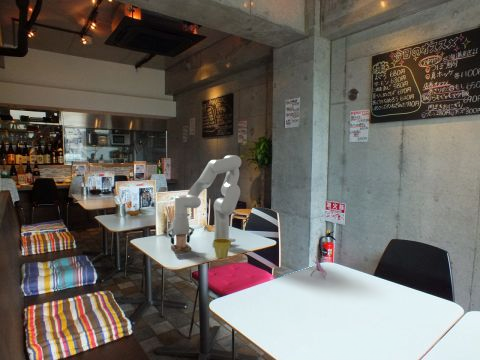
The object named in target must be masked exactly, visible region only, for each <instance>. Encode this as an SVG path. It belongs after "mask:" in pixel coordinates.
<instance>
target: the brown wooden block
mask: <svg viewBox="0 0 480 360" xmlns="http://www.w3.org/2000/svg"><path fill="white" fill-rule="evenodd" d="M175 242H176V243H175V245H176V249H181V248H186V244H187V234H181V235H175Z"/></svg>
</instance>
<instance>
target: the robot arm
mask: <svg viewBox="0 0 480 360" xmlns="http://www.w3.org/2000/svg"><path fill="white" fill-rule="evenodd" d="M241 165H242V159H241V157H240V156H238V155H235V154H234V155H232V154H228V155H225V156H224V157H223V158H222V159H211V160H210V161H208V163H207V165H206V166H205V168H204V169H203V171H202V173H201V174H200V176H199V178H198V179H197V180H196V181H195V182H194V183H193V184H192V186H191V187H190V189H189V190H188V191H187V194H186V195H177V196H175V198H174V217H173V218H172V223H171V227H170V228H169V229H167V230H166V234H167V235H168V237H170V244H171V245H175V238H174V237H176V235H181V234H186V244H190V241H191V236H192V235H193V234H194V232H195V228H193V227H191V226H190V222H189V216H190V213H188V208H189V209H197V208H200V206H201V204H202V201H201V199H200V197H199V196H200V195H201V193H202V192H203V191H205V190H206V189H208V188H209V187H211V185H212V184H213V183H214V180H215V179H216V177H217V175H218V174H225V178H224V180H223V183H222V186H221V188H220V192H221V195H222V196H224V197H218V198H216V199H215V200H214V202H213V211H214V213H213V214H214V230H213V231H214V233H213V234H214V237H213V238H214V239H213V240H215V239H218V238H225V239H229V240H231V243H236V241H237V240H236V238H230V215H231V214H232V213H234V211H235V210H236V207H237V203H238V201H239V199H240V196H241V188H240V186H239V185H238V181H239V178H240V169H239V168H240V167H241ZM211 246H212V247H214V246H213V242H212V243H211Z"/></svg>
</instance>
